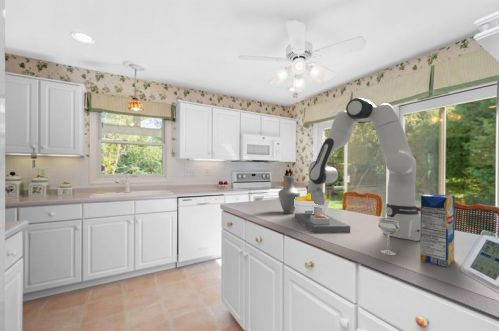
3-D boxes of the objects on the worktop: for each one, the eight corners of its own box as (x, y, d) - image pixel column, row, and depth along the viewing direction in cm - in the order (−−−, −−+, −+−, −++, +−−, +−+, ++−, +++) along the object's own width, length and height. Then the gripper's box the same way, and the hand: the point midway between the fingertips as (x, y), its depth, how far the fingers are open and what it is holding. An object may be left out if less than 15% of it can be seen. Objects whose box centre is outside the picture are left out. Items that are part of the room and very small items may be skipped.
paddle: (320, 213, 142) (320, 206, 142) (321, 214, 140) (322, 207, 140) (313, 213, 142) (314, 206, 142) (315, 214, 140) (315, 207, 140)
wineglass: (375, 252, 87) (376, 219, 88) (380, 248, 93) (380, 217, 93) (397, 257, 83) (397, 222, 83) (400, 252, 88) (401, 219, 88)
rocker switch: (309, 213, 139) (309, 210, 139) (312, 213, 134) (312, 210, 134) (304, 213, 138) (304, 210, 139) (307, 213, 134) (307, 210, 134)
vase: (302, 212, 165) (303, 176, 165) (294, 215, 153) (295, 176, 153) (283, 210, 173) (284, 175, 173) (274, 212, 161) (275, 175, 161)
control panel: (323, 218, 146) (323, 208, 147) (350, 232, 115) (350, 219, 115) (294, 218, 145) (294, 208, 145) (314, 232, 113) (314, 220, 113)
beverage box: (420, 260, 80) (421, 195, 80) (429, 253, 87) (430, 193, 87) (446, 267, 75) (446, 197, 75) (454, 259, 82) (454, 195, 82)
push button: (322, 217, 123) (322, 214, 123) (326, 220, 118) (326, 216, 118) (313, 217, 123) (313, 214, 123) (316, 220, 118) (316, 216, 118)
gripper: (327, 189, 136) (327, 213, 136) (314, 186, 156) (314, 207, 156) (317, 189, 135) (316, 213, 135) (305, 186, 155) (304, 207, 155)
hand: (315, 210), depth 146 cm, fingers closed
